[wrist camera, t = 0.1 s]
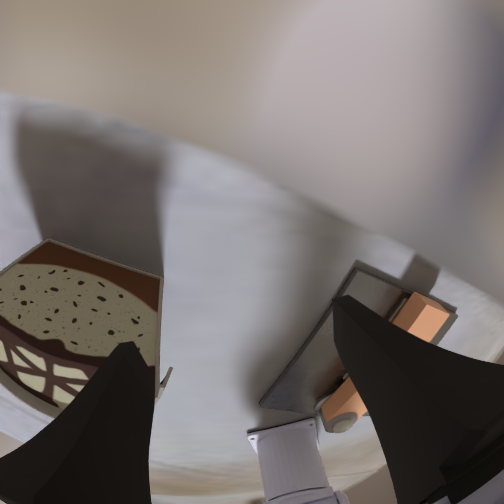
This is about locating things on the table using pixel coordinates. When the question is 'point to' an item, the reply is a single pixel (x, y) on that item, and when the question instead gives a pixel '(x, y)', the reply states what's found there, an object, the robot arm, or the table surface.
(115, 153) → the table surface
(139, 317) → the food container
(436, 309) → the swing bar
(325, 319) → the label plate
